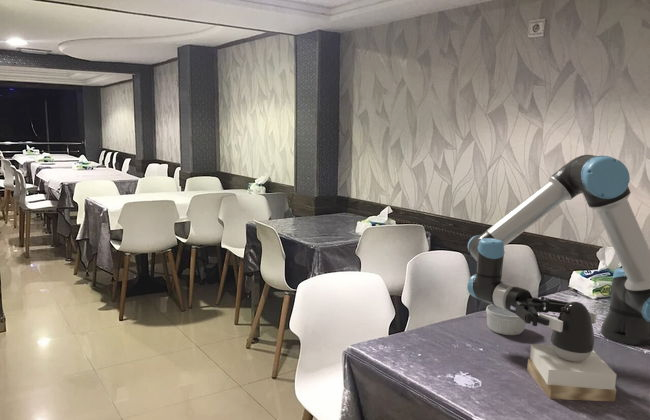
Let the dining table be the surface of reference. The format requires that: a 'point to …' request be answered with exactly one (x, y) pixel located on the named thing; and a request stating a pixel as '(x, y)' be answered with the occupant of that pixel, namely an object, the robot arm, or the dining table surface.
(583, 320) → the pump dispenser
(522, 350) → the dining table surface
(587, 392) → the tower base
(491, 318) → the ramekin
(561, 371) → the tower top
